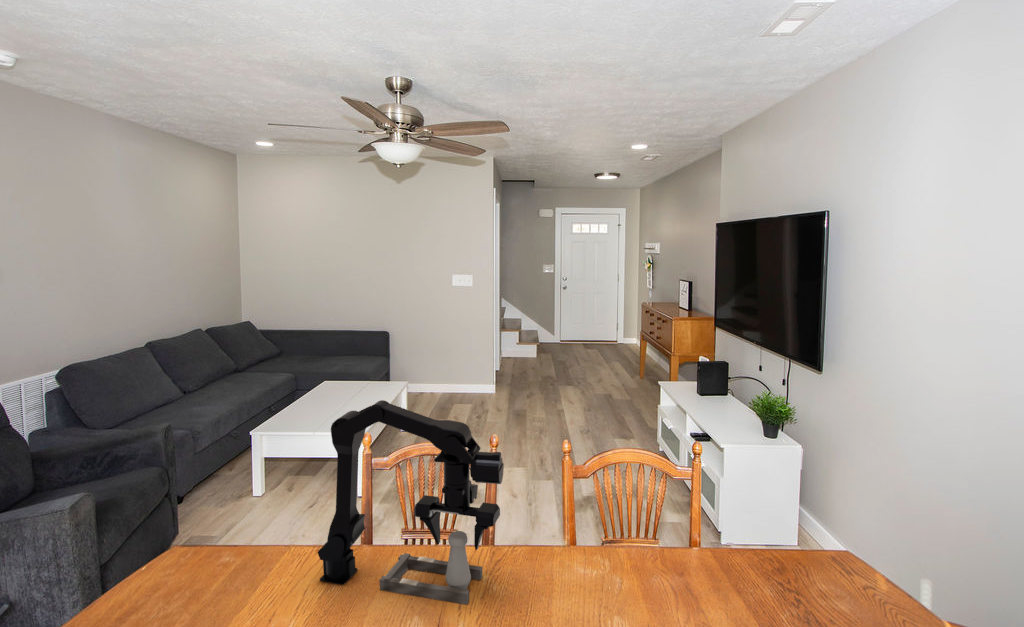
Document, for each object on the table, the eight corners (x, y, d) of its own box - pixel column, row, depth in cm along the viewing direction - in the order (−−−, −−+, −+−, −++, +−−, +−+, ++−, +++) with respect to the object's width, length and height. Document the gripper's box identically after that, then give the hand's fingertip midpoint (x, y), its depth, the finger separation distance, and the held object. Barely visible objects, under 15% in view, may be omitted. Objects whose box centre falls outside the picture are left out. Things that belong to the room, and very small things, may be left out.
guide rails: (379, 590, 130) (379, 577, 130) (401, 564, 141) (401, 552, 140) (466, 604, 125) (466, 592, 124) (482, 576, 135) (482, 564, 135)
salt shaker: (467, 596, 128) (466, 541, 126) (442, 593, 129) (441, 539, 127) (474, 581, 133) (473, 528, 132) (450, 578, 134) (449, 526, 133)
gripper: (506, 470, 133) (506, 534, 135) (432, 462, 138) (433, 524, 140) (492, 490, 123) (492, 559, 125) (412, 481, 127) (413, 547, 129)
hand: (457, 545), depth 130 cm, fingers open, 9 cm apart
